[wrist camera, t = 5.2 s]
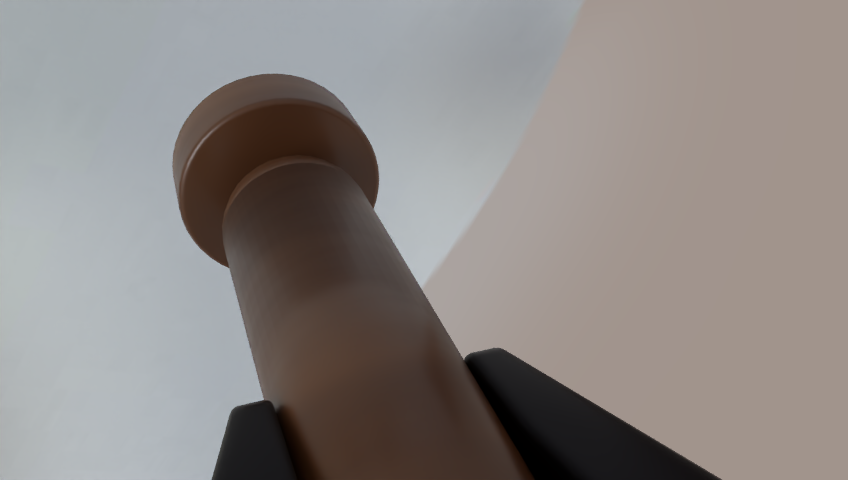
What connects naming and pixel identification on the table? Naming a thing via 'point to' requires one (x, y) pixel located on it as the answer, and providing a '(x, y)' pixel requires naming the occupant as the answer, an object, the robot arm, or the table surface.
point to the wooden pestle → (330, 291)
